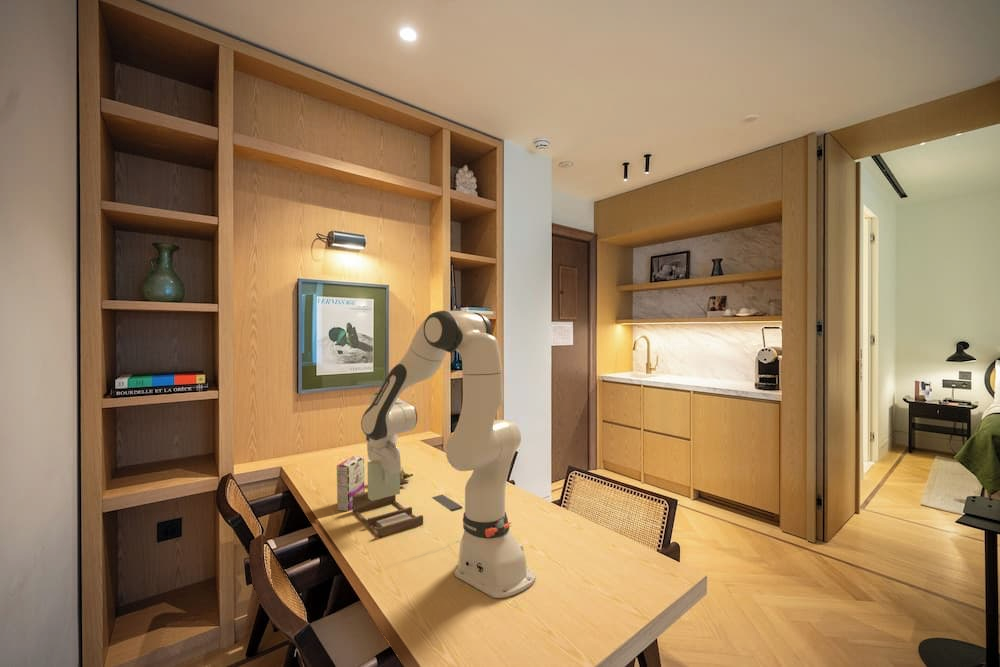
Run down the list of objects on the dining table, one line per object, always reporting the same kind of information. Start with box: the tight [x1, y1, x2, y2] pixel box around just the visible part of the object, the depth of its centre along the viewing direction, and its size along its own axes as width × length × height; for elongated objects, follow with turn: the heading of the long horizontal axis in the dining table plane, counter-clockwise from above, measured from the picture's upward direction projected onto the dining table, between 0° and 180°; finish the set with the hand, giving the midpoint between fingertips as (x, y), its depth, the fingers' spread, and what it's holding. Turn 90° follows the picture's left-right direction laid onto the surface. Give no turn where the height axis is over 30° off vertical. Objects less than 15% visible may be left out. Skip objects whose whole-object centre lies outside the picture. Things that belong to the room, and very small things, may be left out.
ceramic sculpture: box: [400, 467, 414, 486], centre depth 179 cm, size 11×9×15 cm
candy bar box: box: [336, 455, 365, 512], centre depth 157 cm, size 11×5×16 cm, turn 168°
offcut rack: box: [352, 491, 424, 539], centre depth 144 cm, size 24×15×7 cm, turn 38°
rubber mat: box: [431, 494, 463, 512], centre depth 156 cm, size 14×16×1 cm
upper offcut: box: [376, 513, 412, 529], centre depth 138 cm, size 6×10×2 cm, turn 131°
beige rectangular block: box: [367, 460, 401, 501], centre depth 146 cm, size 4×10×12 cm, turn 128°
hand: (383, 479), depth 146 cm, fingers closed on beige rectangular block, 3 cm apart
